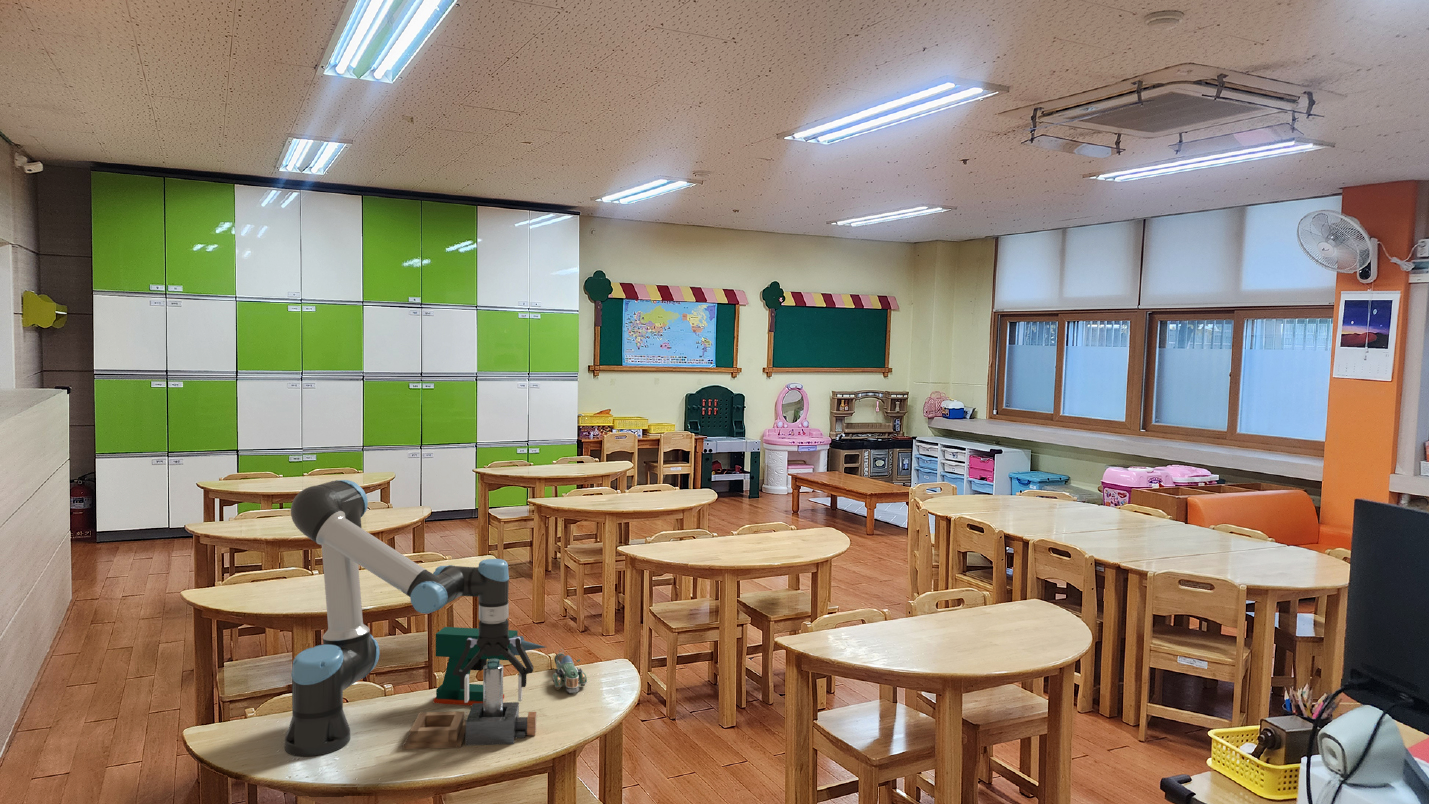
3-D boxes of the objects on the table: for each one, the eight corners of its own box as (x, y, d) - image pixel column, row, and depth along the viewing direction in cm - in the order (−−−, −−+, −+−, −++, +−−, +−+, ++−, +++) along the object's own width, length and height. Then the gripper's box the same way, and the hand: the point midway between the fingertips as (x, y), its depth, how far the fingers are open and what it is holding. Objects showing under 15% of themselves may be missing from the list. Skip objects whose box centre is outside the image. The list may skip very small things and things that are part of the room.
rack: (403, 749, 218) (403, 733, 218) (415, 725, 232) (415, 710, 232) (460, 747, 220) (460, 731, 219) (469, 723, 233) (469, 709, 233)
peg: (481, 739, 225) (482, 664, 224) (484, 730, 230) (484, 657, 228) (501, 738, 225) (502, 664, 224) (503, 730, 230) (504, 657, 229)
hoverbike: (557, 697, 253) (557, 669, 252) (543, 668, 276) (543, 642, 276) (590, 694, 256) (590, 666, 256) (573, 665, 280) (573, 639, 279)
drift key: (504, 736, 226) (505, 718, 226) (506, 730, 230) (506, 712, 229) (535, 735, 227) (535, 717, 227) (536, 729, 230) (536, 711, 230)
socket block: (465, 745, 221) (465, 722, 220) (472, 725, 233) (473, 703, 232) (523, 743, 222) (523, 720, 222) (527, 723, 234) (527, 701, 234)
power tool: (550, 700, 251) (551, 631, 250) (543, 709, 244) (543, 639, 243) (443, 693, 254) (443, 626, 253) (433, 703, 247) (433, 633, 246)
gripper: (441, 625, 221) (441, 707, 222) (541, 623, 223) (541, 704, 225) (446, 616, 228) (447, 695, 229) (543, 614, 231) (543, 692, 232)
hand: (493, 700), depth 227 cm, fingers open, 13 cm apart
